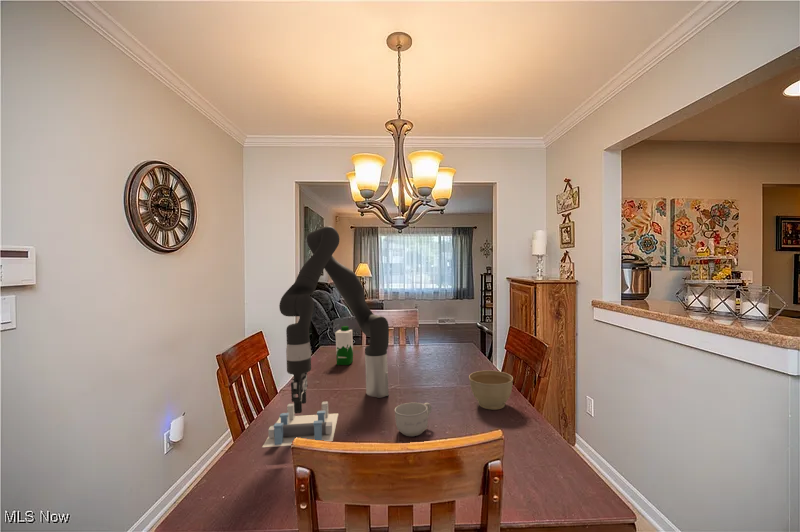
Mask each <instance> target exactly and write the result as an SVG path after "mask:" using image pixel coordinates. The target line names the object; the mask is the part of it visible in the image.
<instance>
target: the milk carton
mask: <svg viewBox="0 0 800 532" xmlns="http://www.w3.org/2000/svg"><path fill="white" fill-rule="evenodd" d="M340 328H341V329H338V330H336V331H335V332H334V333H335V334H334V335H335V352H336V353H335V355H336V357H335V358H336V366H351V364H352V363H353V362H354V346H353V345H354V342H353V341H354V340H353V336H354V335H353V329H349V325H342V326H340Z"/></svg>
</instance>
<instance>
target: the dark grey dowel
mask: <svg viewBox="0 0 800 532" xmlns="http://www.w3.org/2000/svg"><path fill="white" fill-rule="evenodd" d="M322 434H332V422H323V423H322ZM308 435H314V425H313V423H304V424H289V425H283V437H293V436H308ZM268 436H269V438H275V436H274V425H270V427H269V428H268Z"/></svg>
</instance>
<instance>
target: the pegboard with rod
mask: <svg viewBox="0 0 800 532" xmlns="http://www.w3.org/2000/svg"><path fill="white" fill-rule="evenodd" d="M286 410H287V411H286V412H282V413H281V412H280V414H279V418H278V420H276V422H275V423H274V425H273V426H274V436H275V438H269V435H268V437H267V438H266V440H265V441H264V443H263V445H262V446H261V448H263V449H264V448H274V447H275V448H276V447H289V446H292V445H291V444H292V441H293V440H294V438H296V437H301V438H307V439H315V440H324V441H334V438H335V437H334V436H335V432H336V426H337V422H338V419H339V413H329V401H327V400H326V401H322V402H321V410H317V412H316V414H308V415H307V414H306V415H295V414H296V413H294V403H288V404H287V406H286ZM323 422H332V434H322V423H323ZM304 423H313V425H314V435H308V436H293V437H283V425H289V424H304Z"/></svg>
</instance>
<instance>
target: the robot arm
mask: <svg viewBox="0 0 800 532" xmlns="http://www.w3.org/2000/svg"><path fill="white" fill-rule="evenodd" d="M306 243H307V245H308V246H307V247H308V249H309V250H310V251H311V253H312V255H311V256H310V257H309V259H307V261H306V262H305V263H304V265H303V266H302V267H301V268H300V270H299V272H298V274H297V277H296V279H295V281H294V283H293V284H292V285H291V286H290V287H289V288H288V289H287V290H286V291H285V292H284V294H283V295H282V296H281V298H280V301H279V305H278V306H279V312H280V314H282V316H285V317H299V318H298V322H296V323H291V324H289V325H288V326H287V327H286V329H285V331H286V348H285V349H286V351H285V353H286V372H287V373H288V374H289V375H293V378H292V379H291V383H290V390H291V392H290V393H291V396H290V397H291V402H292V403H293V404H294V413H295V414H302V412H303V404H306V403H307V389H308V386H309V385H308V373H309V372H310V371H311V370H312V351H311V344H310V326H311V320H312V317H313V313H314V307H315V304H314V303H315V302H314V299H313V297H312V296H311V295H313V294H314V292H315V291H316V288H317V286H318V284H319V280H320V278H321V276H322V274H323V271H324V270H325V272H327V275H328V276H329V277H330V279H331V280H332V281H331V282H333V284H334V286H335V288H336V289H337V290H338V292H339V294H340V295H341V297H342V298H343V300H344V301H345V303H346V304H347V306H348V308H349V309H350V311H351V312H352V314H353V316H354V318H355V320H356V322H357V324H358V327H359V328H360V330H361V332H362V333H363V334H364V335H365V336H367V337H369V344H368V345H366V346H365V348H364V359H365V360H364V362H365V364H364V366H365V393H366V395H367V396H368V397H374V398H377V399H382V398H385V397H388V396H389V395H390V394H389V372H388V371H389V370H388V349H389V342H390V340H389V339H390V336H389V335H390V328H389V322H388V319H387V318H386V317H384V316H382V315H377V314H374V312H373V311H372V310H371V309H370V307H369V306H368V304H367V302H366V295H365V290H364V289H365V288H364V287H363V285H362V282H361V281H360V279H359V277H358V276H357V274H356V273H355V272H354V271H353V270H352V269H350V268H349V267H348V266H346V265H344V264H342V263H341V262H339V261H338V260H337V259H336V258H335V257H334V256H333V255H334V253H335V251H336V250H337V248H338V246H339V245H340V235H339V232H338V231H337V229H336V228H334V227H333V226H331V225H325V226H324V227H320V228H317V229H315V230H313V231H312V232H309V233H308V234H307V235H306ZM296 395H297V397H296Z"/></svg>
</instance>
